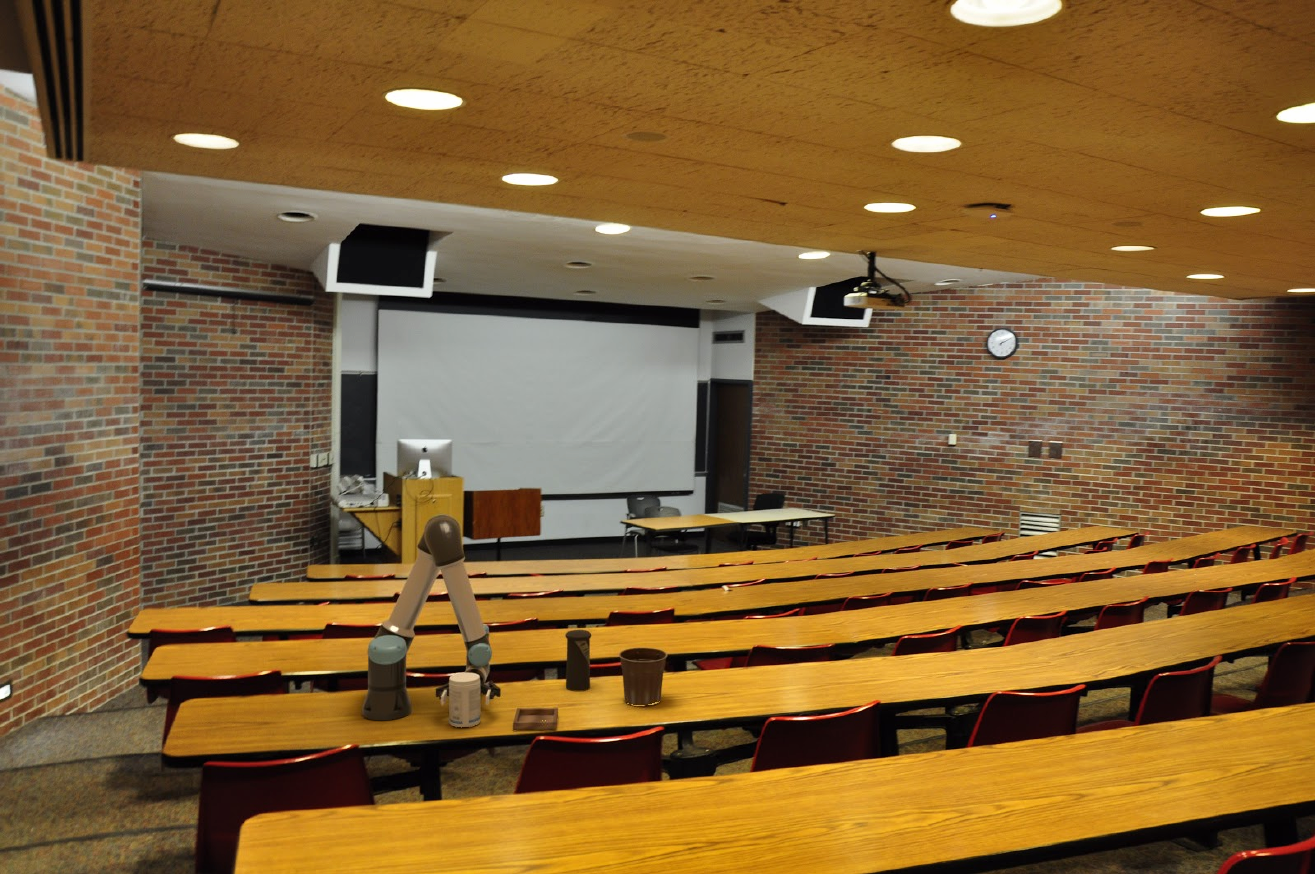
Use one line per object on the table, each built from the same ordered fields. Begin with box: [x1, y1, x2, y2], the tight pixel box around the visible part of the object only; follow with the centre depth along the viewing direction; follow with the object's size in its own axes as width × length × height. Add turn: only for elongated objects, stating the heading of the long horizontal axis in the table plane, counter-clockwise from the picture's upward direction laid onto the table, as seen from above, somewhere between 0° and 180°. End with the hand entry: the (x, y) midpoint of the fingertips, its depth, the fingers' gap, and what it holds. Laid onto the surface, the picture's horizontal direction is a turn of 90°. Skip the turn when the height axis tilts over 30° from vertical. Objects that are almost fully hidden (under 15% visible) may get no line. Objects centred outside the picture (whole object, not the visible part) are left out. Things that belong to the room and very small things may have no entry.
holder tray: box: [512, 707, 559, 731], centre depth 288 cm, size 13×13×2 cm
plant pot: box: [618, 647, 668, 706], centre depth 310 cm, size 16×16×16 cm
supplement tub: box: [448, 672, 482, 729], centre depth 287 cm, size 10×10×15 cm
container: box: [565, 629, 592, 691], centre depth 323 cm, size 9×9×20 cm
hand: (464, 700), depth 284 cm, fingers open, 13 cm apart
